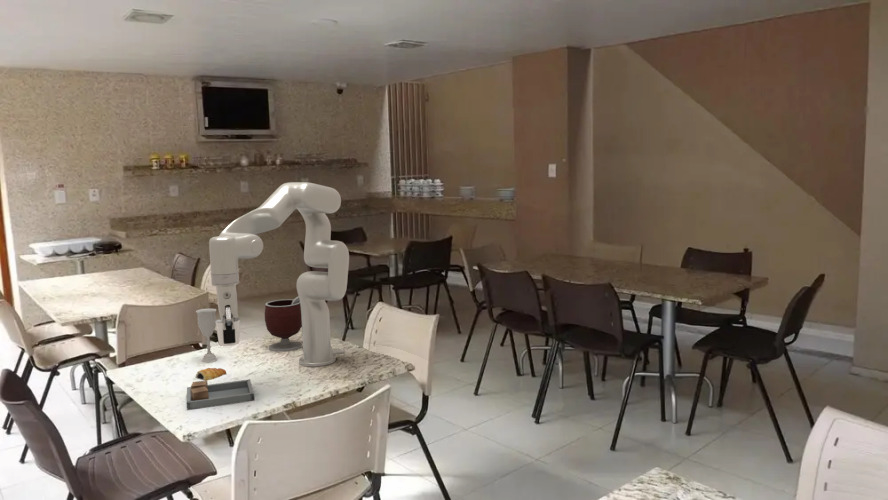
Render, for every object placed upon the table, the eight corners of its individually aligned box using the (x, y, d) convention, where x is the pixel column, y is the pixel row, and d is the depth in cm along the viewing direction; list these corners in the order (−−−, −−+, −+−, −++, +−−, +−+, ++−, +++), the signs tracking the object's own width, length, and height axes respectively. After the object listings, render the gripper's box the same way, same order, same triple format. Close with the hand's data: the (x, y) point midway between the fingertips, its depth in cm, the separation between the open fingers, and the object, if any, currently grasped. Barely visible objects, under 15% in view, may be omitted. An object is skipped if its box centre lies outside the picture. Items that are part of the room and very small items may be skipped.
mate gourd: (270, 354, 237) (267, 300, 235) (263, 345, 250) (260, 294, 247) (312, 348, 243) (309, 296, 241) (304, 340, 256) (301, 290, 253)
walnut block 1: (208, 393, 193) (207, 380, 193) (206, 398, 189) (205, 384, 189) (193, 394, 192) (193, 381, 192) (191, 399, 188) (190, 386, 188)
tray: (250, 388, 200) (250, 379, 199) (254, 403, 187) (254, 393, 186) (187, 397, 193) (186, 387, 193) (187, 413, 180) (186, 402, 180)
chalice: (224, 359, 232) (221, 309, 230) (208, 364, 226) (204, 313, 224) (210, 356, 236) (207, 307, 234) (194, 361, 230) (191, 311, 228)
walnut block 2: (206, 399, 188) (205, 386, 187) (209, 403, 185) (208, 390, 184) (191, 402, 186) (190, 389, 185) (194, 406, 182) (193, 393, 182)
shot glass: (233, 346, 185) (232, 322, 184) (211, 346, 186) (210, 322, 186) (245, 340, 192) (244, 317, 191) (224, 340, 193) (223, 317, 192)
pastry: (219, 373, 216) (218, 362, 216) (231, 377, 212) (230, 365, 212) (193, 381, 209) (192, 369, 208) (206, 385, 205) (205, 373, 204)
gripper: (241, 282, 180) (244, 346, 182) (236, 274, 196) (240, 332, 198) (212, 284, 177) (216, 349, 180) (210, 275, 193) (214, 335, 196)
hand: (228, 339), depth 189 cm, fingers closed on shot glass, 6 cm apart
